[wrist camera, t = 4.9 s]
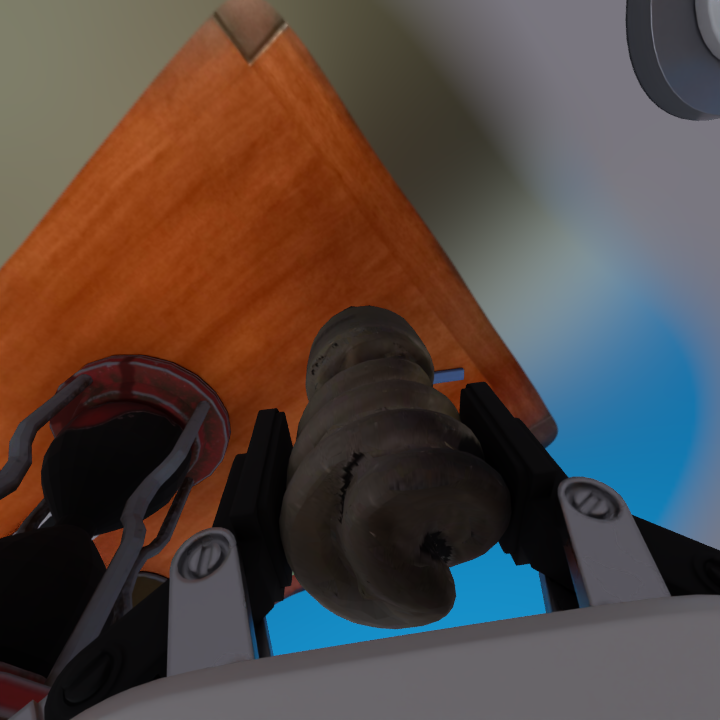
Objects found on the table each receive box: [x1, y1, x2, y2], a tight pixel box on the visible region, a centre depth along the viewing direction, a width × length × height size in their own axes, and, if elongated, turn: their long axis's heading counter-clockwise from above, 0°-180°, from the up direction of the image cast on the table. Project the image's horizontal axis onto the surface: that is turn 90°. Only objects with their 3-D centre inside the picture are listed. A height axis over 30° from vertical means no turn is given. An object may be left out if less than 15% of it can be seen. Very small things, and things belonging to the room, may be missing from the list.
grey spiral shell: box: [279, 305, 512, 629], centre depth 14 cm, size 6×6×15 cm
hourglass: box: [0, 355, 231, 720], centre depth 25 cm, size 16×16×25 cm
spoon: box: [433, 368, 464, 384], centre depth 36 cm, size 13×4×1 cm, turn 95°
